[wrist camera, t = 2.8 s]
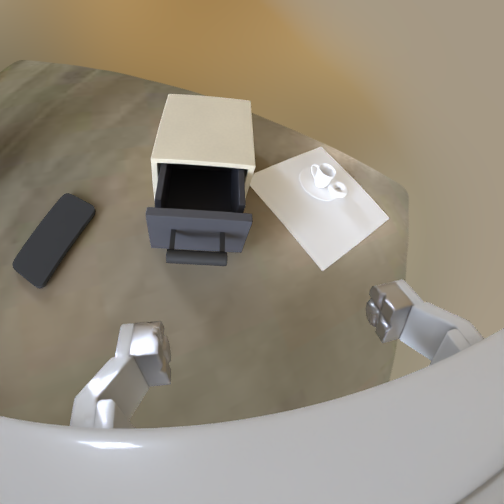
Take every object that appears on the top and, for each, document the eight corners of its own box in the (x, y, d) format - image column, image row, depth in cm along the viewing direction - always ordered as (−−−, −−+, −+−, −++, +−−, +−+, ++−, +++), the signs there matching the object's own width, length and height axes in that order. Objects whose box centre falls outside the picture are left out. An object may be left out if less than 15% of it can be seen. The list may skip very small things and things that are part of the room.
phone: (97, 207, 40) (40, 289, 33) (98, 211, 41) (42, 292, 33) (65, 191, 40) (9, 265, 33) (66, 194, 41) (12, 267, 34)
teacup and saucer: (350, 195, 53) (360, 182, 49) (322, 212, 49) (332, 197, 46) (318, 163, 55) (326, 148, 52) (289, 176, 52) (296, 160, 48)
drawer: (242, 281, 40) (254, 255, 33) (147, 277, 37) (140, 249, 31) (238, 174, 48) (248, 139, 42) (163, 168, 46) (162, 132, 39)
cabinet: (242, 208, 46) (255, 166, 38) (154, 202, 44) (150, 158, 35) (240, 141, 54) (250, 100, 45) (167, 136, 51) (168, 93, 43)
